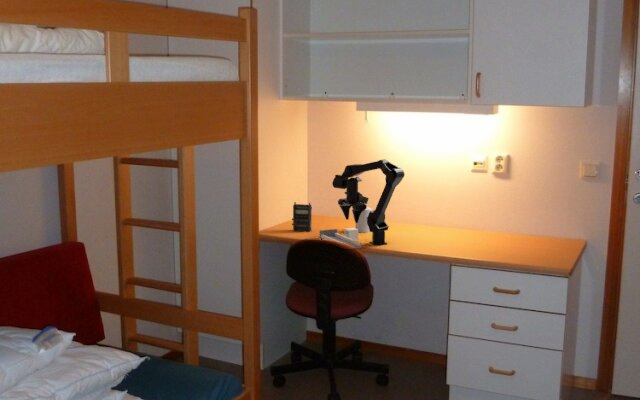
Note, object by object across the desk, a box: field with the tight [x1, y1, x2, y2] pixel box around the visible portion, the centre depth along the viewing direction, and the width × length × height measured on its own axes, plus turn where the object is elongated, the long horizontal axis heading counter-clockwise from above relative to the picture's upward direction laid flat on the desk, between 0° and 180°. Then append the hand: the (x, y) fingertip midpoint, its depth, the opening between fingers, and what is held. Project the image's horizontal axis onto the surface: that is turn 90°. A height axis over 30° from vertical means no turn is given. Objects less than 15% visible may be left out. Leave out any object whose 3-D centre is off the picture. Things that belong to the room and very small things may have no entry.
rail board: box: [317, 228, 363, 249], centre depth 347 cm, size 26×10×4 cm, turn 27°
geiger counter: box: [291, 201, 313, 233], centre depth 373 cm, size 10×4×15 cm, turn 77°
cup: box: [355, 206, 372, 234], centre depth 374 cm, size 8×8×12 cm
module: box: [344, 227, 359, 241], centre depth 357 cm, size 5×5×5 cm
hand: (351, 221), depth 356 cm, fingers open, 9 cm apart
